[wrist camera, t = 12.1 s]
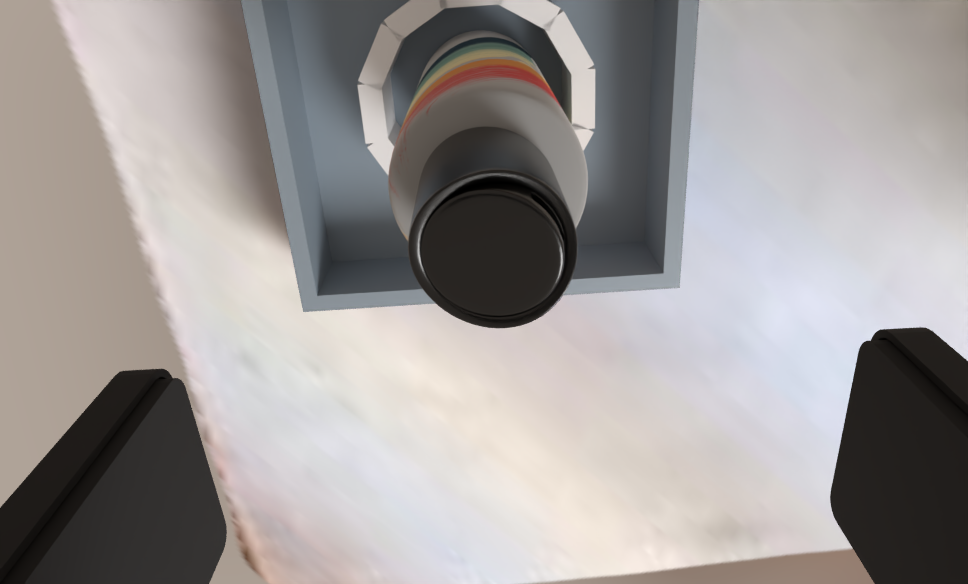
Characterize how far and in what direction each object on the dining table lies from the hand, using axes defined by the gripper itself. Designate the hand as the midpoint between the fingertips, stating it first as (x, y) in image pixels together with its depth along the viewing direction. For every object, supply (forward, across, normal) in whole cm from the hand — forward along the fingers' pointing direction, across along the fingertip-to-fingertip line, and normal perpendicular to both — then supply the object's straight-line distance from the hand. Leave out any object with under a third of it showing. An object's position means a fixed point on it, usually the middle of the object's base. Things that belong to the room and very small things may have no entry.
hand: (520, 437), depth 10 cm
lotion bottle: (+26, +1, 0) cm, 26 cm away
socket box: (+27, +1, 0) cm, 27 cm away
